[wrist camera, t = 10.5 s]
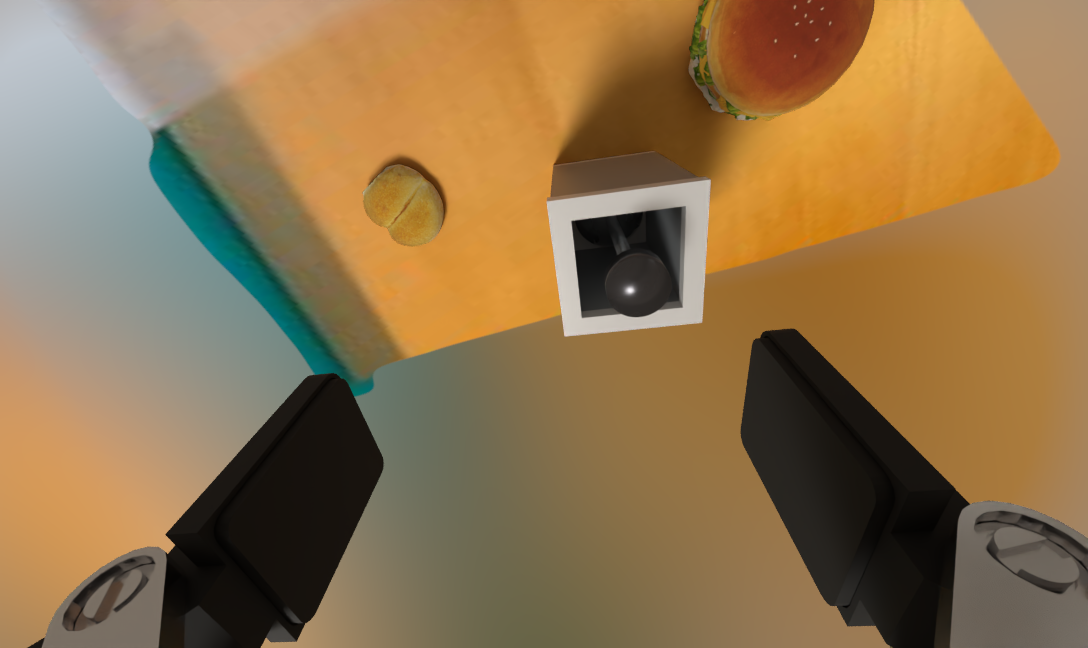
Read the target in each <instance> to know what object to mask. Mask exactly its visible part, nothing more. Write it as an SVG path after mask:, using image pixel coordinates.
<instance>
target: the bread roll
mask: <svg viewBox="0 0 1088 648" xmlns="http://www.w3.org/2000/svg"><path fill="white" fill-rule="evenodd" d="M363 195H364V200H363V202H364V208H365V211H366V213H367V215H368V216H369V218H370V219H371V220H372V221H373V222H374V223H375V224H377V225H379V226H381V227H385V228H388V231H389V233H390V235H391V237H392V239H393V240H394V241H396V242H397V243H399V244H401V245H404V246H411V247H413V246H420V245H423V244H426V243H428V242H430V241H431V240H433V239H434V238H435V237H436V235H437V234H438V233H439V231H440V229H441V226H442V222H443V216H444V210H443V203H442V200H441V197H440V195H439V193H438V191H437V190H436V188H435V187H434V186H433V185H432V184H431V183H430V182H429V181H428V180H426V179H425V178H424V177H423V176H422V175H421V174H420V173H419V172H417V171H416V170H414V169H412V168H410V167H407V166H404V165H400V164H397V165H393V166H388V167H386V168H385V169H384V171H383V172H382V173H381V174H379V175H378V176H377V177H376V178H375V179H374V181H373V182H372V183H371V184H370V185H369V186H368V187H367V188H366V189H365V190H364V191H363Z"/></svg>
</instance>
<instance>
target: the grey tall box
mask: <svg viewBox="0 0 1088 648" xmlns="http://www.w3.org/2000/svg"><path fill="white" fill-rule="evenodd" d="M710 184H711V179H709V178H707V177H705V176H704V177H697V176H695V175H694V174H692V173H690V172H689V171H687V170H685V169H684V168H682V167H680V166H679V165H677V164H675V163H674V162H672V161H671V160H669V159H667V158H666V157H664V156H662V155H661V154H659V153H657V152H656V151H648V152H641V153H634V154H627V155H620V156H613V157H606V158H599V159H593V160H586V161H579V162H572V163H565V164H558V165H553V175H552V186H551V197H550V198H547V208H548V215H549V223H550V230H551V238H552V245H553V253H554V260H555V268H556V275H557V282H558V290H559V297H560V305H561V312H562V319H563V327H564V335H565V336H574V335H584V334H594V333H604V332H614V331H624V330H634V329H643V328H653V327H664V326H673V325H684V324H693V323H702V315H703V298H704V282H705V266H706V249H707V233H708V217H709V200H710ZM635 212H643V216H642V220H641V223H640V225H639V227H638V229H637V230H636V232H635V233H634V234H633V235H632V236H631V237H630V238H629V239H627V242H628V244H629V246H630V248H631V249H634V248H641V249H646V250H649V251H651V252H653V253H655V254H656V255H657V256H658V257H659V258H660V259H661V261H662V262H663V264H664V266H665V267H666V269H667V270H668V272H669V274H670V276H671V280H672V290H671V294H670V296H669V298H668V300H667V302H666V303H665V304H664V305H663V306H662V307H661V308H660V309H659V310H658V311H656V312H654V313H652V314H650V315H648V316H644V317H628V316H625V315H622V314H620V313H619V312H617V311H616V310H615V309H614V308H613V307H612V306H611V304H610V303H609V301H608V298H607V294H606V289H605V285H604V273H605V270H606V267H607V266H608V264H609V262H610V261H611V260H612V259H613V258H614V257H615V256H616V255H617V253H616V250H615V247H614V246H599V245H595V244H593V243H591V242H589V241H588V240H586V239H585V238H584V237H583V236H582V235H581V234H580V232H579V231H578V229H577V226H576V223H575V220H581V219H589V218H597V217H604V216H612V215H620V214H628V213H635Z"/></svg>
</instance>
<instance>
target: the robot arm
mask: <svg viewBox="0 0 1088 648" xmlns="http://www.w3.org/2000/svg"><path fill="white" fill-rule="evenodd" d="M741 438H742V443H743V445H744V448H745V450H746V451H747V453H748V455H749V457H750V459H751V461H752V463H753V465H754V467H755V469H756V471H757V472H758V474H759V476H760V478H761V480H762V482H763V484H764V486H765V488H766V490H767V492H768V493H769V495H770V498H771V499H772V501H773V503H774V505H775V507H776V509H777V511H778V513H779V515H780V517H781V519H782V521H783V522H784V524H785V526H786V528H787V530H788V532H789V534H790V536H791V538H792V540H793V542H794V544H795V545H796V547H797V549H798V551H799V553H800V555H801V557H802V559H803V561H804V563H805V565H806V566H807V569H808V570H809V572H810V574H811V576H812V578H813V580H814V582H815V584H816V586H817V588H818V590H819V592H820V593H821V595H822V597H823V598H824V600H825V601H826V602H827V603H828V604H829V605H830V606H837V608H838V610H839V611H840V613H841V615H842V617H843V619H844V620H845V622H846V624H847V626H876V627H877V629H878V630H879V632H880V634H881V635H882V637H883V639H884V641H885V642H886V644H888V645H890V648H1088V538H1086V537H1085V536H1084V535H1082V534H1081V533H1079V532H1078V531H1076V530H1074V529H1072V528H1071V527H1069V526H1067V525H1065V524H1064V523H1062V522H1060V521H1058V520H1056V519H1054V518H1052V517H1049V516H1047V515H1045V514H1042V513H1040V512H1038V511H1035V510H1032V509H1029V508H1026V507H1022V506H1018V505H1014V504H1011V503H1004V502H995V501H984V502H977V503H972V504H969V503H968V502H967V501H966V500H965V499H964V498H963V497H962V496H961V495H960V494H959V493H958V492H957V491H956V490H955V488H954V487H953V486H952V485H951V484H950V483H949V482H948V481H947V480H946V479H945V478H944V477H943V476H942V475H941V474H940V473H939V472H938V471H937V470H936V469H935V468H934V467H933V466H932V465H931V464H930V463H929V462H928V461H927V460H926V459H925V458H924V457H923V456H922V455H921V454H920V453H919V452H918V451H917V450H916V449H915V448H914V447H913V446H912V445H911V444H910V443H909V442H908V441H907V440H906V439H905V438H904V437H903V436H902V435H901V434H900V433H899V432H898V431H897V430H896V429H895V428H894V427H893V426H892V425H891V424H890V423H889V422H888V421H887V420H886V419H885V418H884V417H883V416H882V415H881V414H880V413H879V412H878V411H877V410H876V409H875V408H874V407H873V406H872V405H871V404H870V403H869V402H868V401H867V400H866V399H865V398H864V397H863V396H862V395H861V394H860V393H859V392H858V391H857V390H856V389H855V388H854V387H853V386H852V385H851V384H850V383H849V382H848V381H847V380H846V379H845V378H844V377H843V376H842V375H841V374H840V373H839V372H838V371H837V370H836V369H835V368H834V367H833V366H832V365H831V364H830V363H829V362H828V361H827V360H826V359H825V358H824V357H823V356H822V355H821V354H820V353H819V352H818V351H817V350H816V349H815V348H814V347H813V346H812V345H811V344H810V343H809V342H808V341H807V340H806V339H805V338H804V337H803V336H802V335H801V334H800V333H799V332H798V331H797V330H795V329H782V330H772V331H765V332H763V333H762V335H761V337H760V338H758V339H755V340H754V341H753V344H752V350H751V357H750V365H749V372H748V379H747V387H746V394H745V402H744V409H743V417H742V424H741ZM382 470H383V457H382V454H381V452H380V450H379V448H378V446H377V444H376V442H375V440H374V438H373V436H372V434H371V431H370V429H369V427H368V425H367V423H366V421H365V419H364V417H363V415H362V412H361V411H360V408H359V406H358V404H357V402H356V400H355V398H354V396H353V394H352V391H351V389H350V387H349V385H348V383H347V382H346V380H344V379H341V378H340V377H339V376H338V375H337V374H334V373H330V374H319V375H311V376H308V377H307V378H305V379H304V380H303V382H302V383H301V384H300V385H299V386H298V387H297V388H296V389H295V390H294V392H293V393H292V394H291V395H290V396H289V397H288V398H287V399H286V400H285V402H284V403H283V404H282V405H281V406H280V407H279V408H278V409H277V411H276V412H275V413H274V414H273V415H272V416H271V417H270V418H269V419H268V421H267V422H266V423H265V424H264V425H263V426H262V427H261V428H260V429H259V431H258V432H257V433H256V434H255V435H254V436H253V437H252V438H251V440H250V441H249V442H248V443H247V444H246V445H245V446H244V447H243V448H242V450H241V451H240V452H239V453H238V454H237V455H236V456H235V457H234V458H233V460H232V461H231V462H230V463H229V464H228V465H227V466H226V467H225V469H224V470H223V471H222V472H221V473H220V474H219V475H218V476H217V477H216V479H215V480H214V481H213V482H212V483H211V484H210V485H209V486H208V488H207V489H206V490H205V491H204V492H203V493H202V494H201V495H200V496H199V498H198V499H197V500H196V501H195V502H194V503H193V504H192V505H191V507H190V508H189V509H188V510H187V511H186V512H185V513H184V514H183V515H182V517H181V518H180V519H179V520H178V521H177V522H176V523H175V524H174V525H173V527H172V528H171V529H170V530H169V531H168V532H167V533H166V536H167V537H168V538H169V539H170V540H171V541H172V542H173V543H174V544H175V546H174V548H173V549H172V550H171V551H170V552H169V553H168V554H167V553H166V552H165V551H164V550H162V549H161V548H159V547H145V548H141V549H137V550H134V551H131V552H129V553H127V554H125V555H122V556H120V557H118V558H116V559H115V560H113V561H111V562H110V563H108V564H107V565H105V566H103V567H101V568H100V569H99V570H97V571H96V572H95V573H93V574H92V575H91V576H90V577H88V578H87V579H86V580H84V581H83V582H82V583H81V584H80V585H79V586H78V587H77V588H76V589H75V590H74V591H73V592H72V593H71V594H70V595H69V596H68V597H67V598H66V599H65V601H64V602H63V603H62V604H61V606H60V607H59V608H58V609H57V611H56V612H55V614H54V616H53V618H52V620H51V622H50V624H49V627H48V630H47V633H46V636H45V638H43V639H41V640H40V641H38V642H36V643H35V644H33V645H31V646H30V647H28V648H261V646H262V644H263V642H264V640H265V638H267V639H268V640H269V641H270V642H295V641H297V640H298V637H299V636H300V633H301V631H302V629H303V627H304V625H305V623H307V622H308V621H310V620H311V619H312V618H313V616H314V615H315V613H316V611H317V609H318V607H319V605H320V603H321V601H322V599H323V596H324V594H325V592H326V590H327V588H328V586H329V583H330V582H331V579H332V577H333V575H334V573H335V571H336V569H337V567H338V565H339V562H340V560H341V558H342V556H343V554H344V552H345V550H346V548H347V545H348V543H349V541H350V539H351V537H352V535H353V533H354V531H355V528H356V526H357V524H358V522H359V520H360V518H361V516H362V514H363V511H364V509H365V507H366V505H367V503H368V501H369V499H370V497H371V495H372V492H373V490H374V488H375V486H376V484H377V482H378V480H379V477H380V475H381V473H382Z"/></svg>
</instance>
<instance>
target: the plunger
mask: <svg viewBox="0 0 1088 648" xmlns="http://www.w3.org/2000/svg"><path fill="white" fill-rule="evenodd" d="M642 216H643V212H635V213H628V214H620V215H612V216H604V217H597V218H589V219H581V220H575V223H576V226H577V229H578V231H579V232H580V234H581V235H582V236H583V237H584V238H585V239H586V240H588V241H589V242H591V243H593V244H595V245H599V246H614V247H615V250H616V253H617V255H616V256H615V257H614V258H613V259H612V260H611V261H610V262H609V264H608V266H607V267H606V270H605V273H604V285H605V289H606V294H607V298H608V301H609V303H610V304H611V306H612V307H613V308H614V309H615V310H616V311H617V312H619V313H620V314H622V315H625V316H628V317H644V316H648V315H650V314H652V313H654V312H656V311H658V310H659V309H660V308H661V307H662V306H663V305H664V304H665V303H666V302H667V300H668V298H669V296H670V294H671V290H672V280H671V276H670V274H669V272H668V270H667V269H666V267H665V266H664V264H663V262H662V261H661V259H660V258H659V257H658V256H657V255H656V254H655V253H653V252H651V251H649V250H646V249H641V248H634V249H631V248H630V246H629V244H628V242H627V239H629V238H630V237H631V236H632V235H633V234H634V233H635V232H636V230H637V229H638V227H639V225H640V223H641V220H642Z"/></svg>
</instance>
